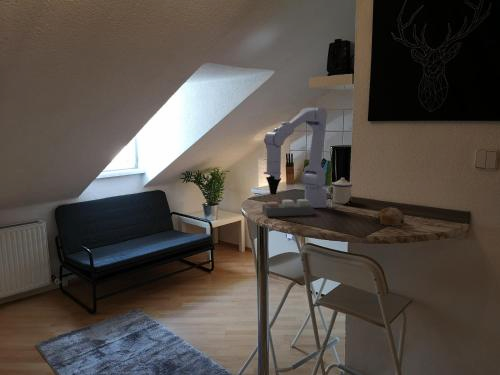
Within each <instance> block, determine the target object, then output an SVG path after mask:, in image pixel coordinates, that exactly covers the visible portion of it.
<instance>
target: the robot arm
mask: <svg viewBox="0 0 500 375" xmlns="http://www.w3.org/2000/svg"><path fill="white" fill-rule="evenodd" d="M327 120H328V112H327V111H326V109H325V108H324V107H322V106H320V107H307V106H306V107H304V108H303V109H301V110H299V113H298V114H297V115H295V116H294V117H293V118H292V119H291V120H289V121H281V124H280V125H278V127H275V128H274V129H273V131H268V132H267V133H266V134H265V135H264V138H263V143H264V144H265V149H266V171H263V175H269V176H266V177H265V179H266V181H267V185H268V190H269V194H270V195H277V192H278V187H279V185H280V182H281V180H282V178H281V175H282V172H281V167H282V166H281V164H282V157H281V156H282V146H283V145H284V143H285V141H286V139H288V138H289V137H290V136H291V135H293V134H294V133H295V129H297V127H299V126H301V125H302V124H303V123H305V124H307V126H309V127H310V128H311V129H312V136H311V143H310V150H309V151H310V152H309V159H308V165H306V166H305V167H304V169H303V173H302V174H301V183H302V185H303V186H304V199H307V200H308V201H309V204H311V205H312V206H314V209H315V208H316V209H317V208H327V207H328V206H327V199H328V196H327V194H328V191H327V188H326V187H325V186H324V185H325V183H326V171H325V169H324V168H323V167H322V160H323V159H322V158H323V154H324V153H323V152H324V145H325V138H326V129H327Z"/></svg>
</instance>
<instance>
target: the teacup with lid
mask: <svg viewBox="0 0 500 375" xmlns="http://www.w3.org/2000/svg"><path fill="white" fill-rule="evenodd" d="M351 183H352V182H349V181H348V180H346V179H345V177H341V178H340V179H339V180H337V181H334V182H333V183H332V185H330V186H328V188H327V190H328V191H327V192H328V194H329V195H330V196H331V197H332V203H335V204H339V205H340V204H341V205H346V203H347V202H348V201H349V199H350V197H351V198H352V192H351V188H352V189H353V187H352V186H353V184H351ZM331 189H332V191H331Z"/></svg>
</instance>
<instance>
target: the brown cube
mask: <svg viewBox="0 0 500 375" xmlns="http://www.w3.org/2000/svg"><path fill="white" fill-rule="evenodd" d="M266 204H267V206H268V207H278V204H279V203H278V201H266Z"/></svg>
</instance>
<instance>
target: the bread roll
mask: <svg viewBox="0 0 500 375" xmlns="http://www.w3.org/2000/svg"><path fill="white" fill-rule="evenodd" d="M374 220H375V221H376V223H377V222H378V224H379V223H380V224H379V225H383V224H384V226H390V225H392V226H391V227H400V226H399V225H402V226H403V225H404V222H405V215H404V214H403V212H401V210H399V209H398V208H397V207H391V206H390V207H385V208H382V209H381V210H379V212H377V213H376V215H375V218H374Z"/></svg>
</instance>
